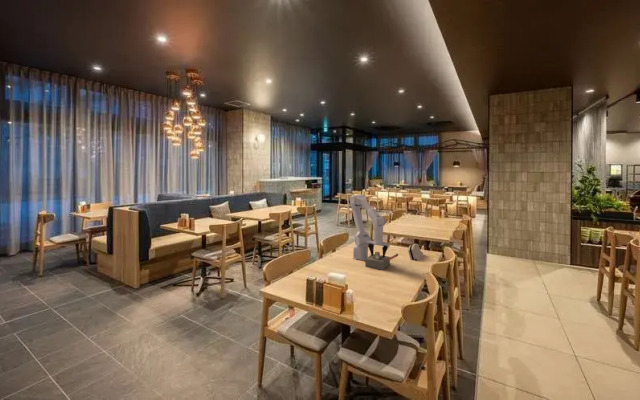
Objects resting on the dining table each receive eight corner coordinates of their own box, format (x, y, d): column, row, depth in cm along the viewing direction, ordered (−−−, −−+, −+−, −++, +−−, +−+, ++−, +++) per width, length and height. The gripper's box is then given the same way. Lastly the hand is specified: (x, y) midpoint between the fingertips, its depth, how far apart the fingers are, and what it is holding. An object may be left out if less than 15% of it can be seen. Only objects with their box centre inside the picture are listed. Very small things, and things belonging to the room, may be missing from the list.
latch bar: (387, 261, 191) (386, 259, 191) (389, 259, 194) (388, 258, 195) (396, 256, 188) (395, 255, 188) (398, 255, 191) (397, 253, 191)
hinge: (417, 261, 206) (413, 246, 206) (411, 262, 208) (406, 248, 209) (423, 254, 220) (419, 241, 220) (417, 255, 222) (412, 242, 223)
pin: (374, 264, 196) (374, 252, 196) (376, 263, 199) (376, 251, 198) (378, 265, 195) (378, 253, 194) (380, 264, 197) (380, 252, 196)
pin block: (365, 266, 195) (365, 258, 194) (372, 261, 205) (372, 254, 204) (383, 269, 189) (383, 262, 188) (389, 264, 199) (390, 256, 198)
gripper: (365, 235, 195) (364, 256, 197) (387, 238, 187) (386, 259, 189) (369, 233, 201) (369, 253, 203) (391, 236, 193) (390, 256, 195)
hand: (377, 256), depth 196 cm, fingers open, 7 cm apart
